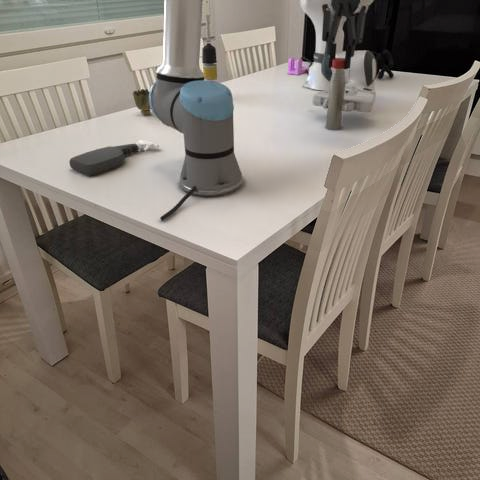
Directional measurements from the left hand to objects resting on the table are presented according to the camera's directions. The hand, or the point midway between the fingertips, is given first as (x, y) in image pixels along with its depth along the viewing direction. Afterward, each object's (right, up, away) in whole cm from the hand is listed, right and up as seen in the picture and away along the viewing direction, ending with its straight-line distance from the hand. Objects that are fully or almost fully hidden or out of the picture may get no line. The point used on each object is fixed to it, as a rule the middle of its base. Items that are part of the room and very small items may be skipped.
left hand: (339, 67), depth 136 cm
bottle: (0, -16, +10) cm, 19 cm away
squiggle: (+35, +22, +70) cm, 81 cm away
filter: (-42, +4, +43) cm, 60 cm away
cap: (0, +2, -1) cm, 2 cm away
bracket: (-1, +30, +83) cm, 88 cm away
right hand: (0, -10, +6) cm, 12 cm away
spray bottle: (-65, -30, -11) cm, 72 cm away
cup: (-64, -7, +26) cm, 70 cm away
